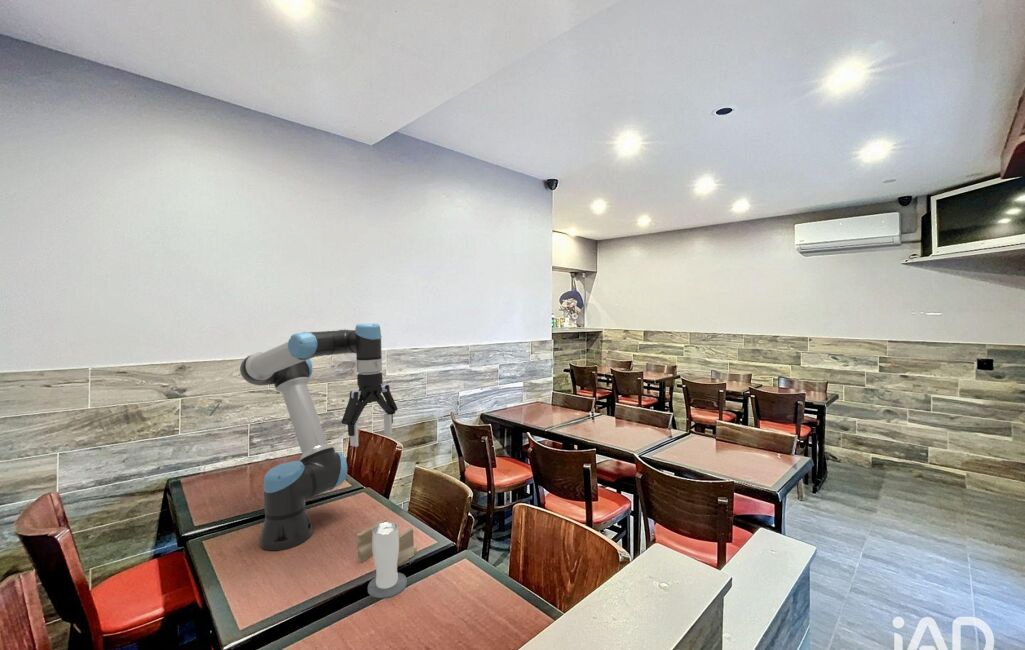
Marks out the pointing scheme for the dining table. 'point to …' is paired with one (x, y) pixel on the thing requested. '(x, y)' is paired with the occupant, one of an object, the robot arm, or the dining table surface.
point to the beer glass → (386, 555)
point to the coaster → (388, 593)
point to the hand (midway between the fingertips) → (372, 439)
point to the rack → (405, 544)
